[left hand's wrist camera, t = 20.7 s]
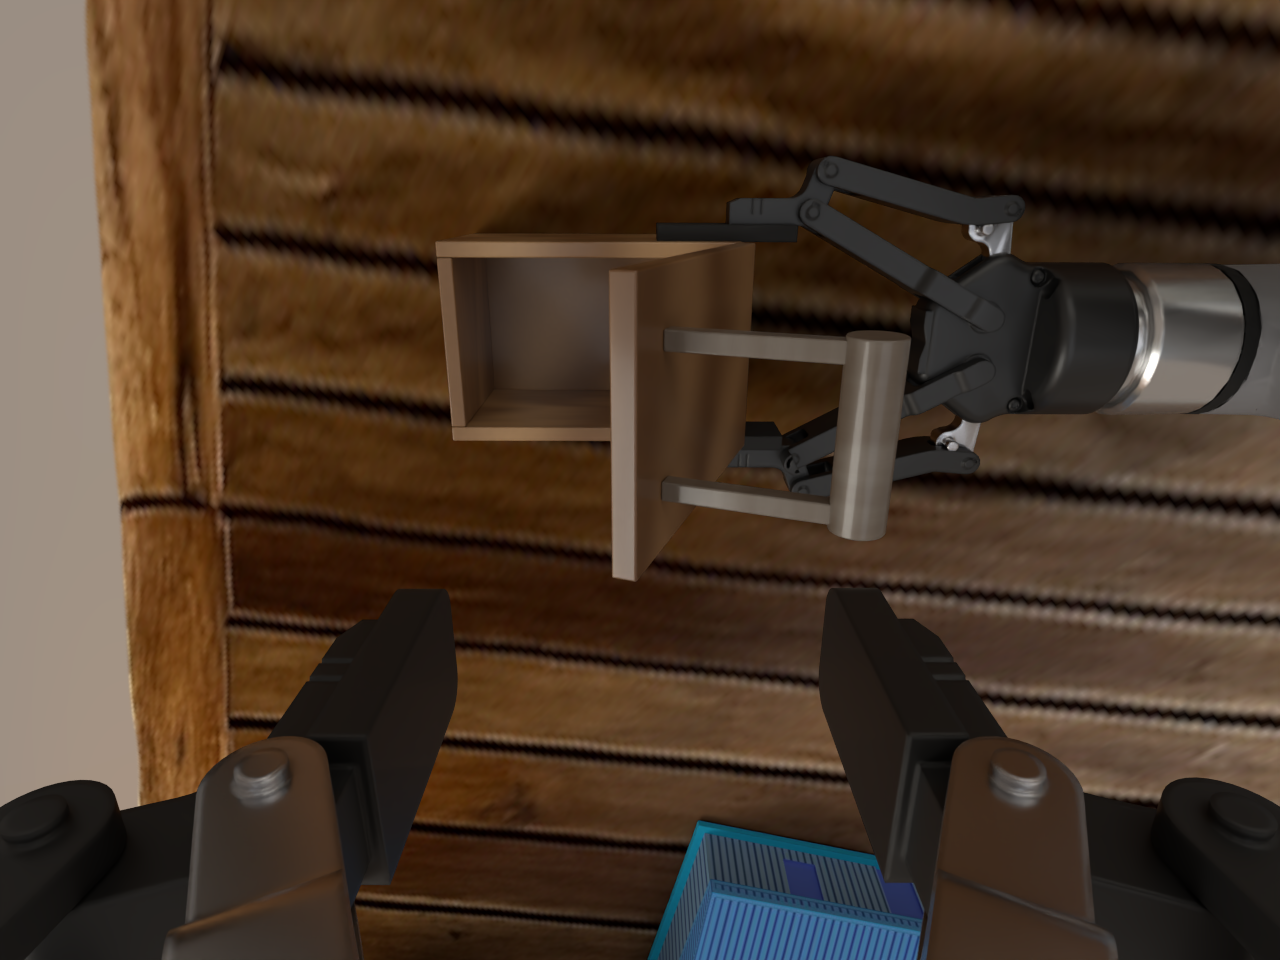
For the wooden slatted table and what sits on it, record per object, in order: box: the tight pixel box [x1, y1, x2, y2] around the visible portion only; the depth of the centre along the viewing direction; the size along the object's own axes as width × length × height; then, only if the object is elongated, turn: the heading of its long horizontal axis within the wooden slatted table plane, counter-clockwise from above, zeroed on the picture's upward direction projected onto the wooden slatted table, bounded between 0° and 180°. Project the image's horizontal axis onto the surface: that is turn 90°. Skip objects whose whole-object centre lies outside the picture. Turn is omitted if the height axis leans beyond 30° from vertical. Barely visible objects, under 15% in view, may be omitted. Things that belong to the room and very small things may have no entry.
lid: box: [609, 243, 911, 582], centre depth 27 cm, size 15×10×8 cm
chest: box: [435, 233, 744, 441], centre depth 39 cm, size 14×10×9 cm
